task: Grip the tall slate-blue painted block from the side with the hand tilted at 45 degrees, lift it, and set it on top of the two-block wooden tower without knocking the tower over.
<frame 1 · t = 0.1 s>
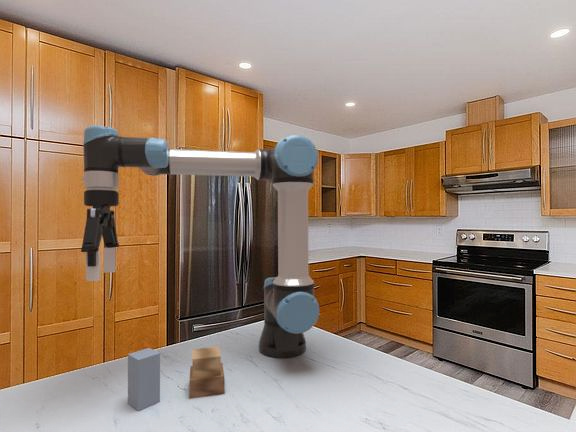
hand: (102, 276, 83), 28 cm above the counter, fingers open, 13 cm apart
tower base: (206, 389, 83), on the counter, touching tower top
tower top: (206, 371, 83), point 4 cm above the counter, touching tower base
slate block: (143, 402, 76), on the counter
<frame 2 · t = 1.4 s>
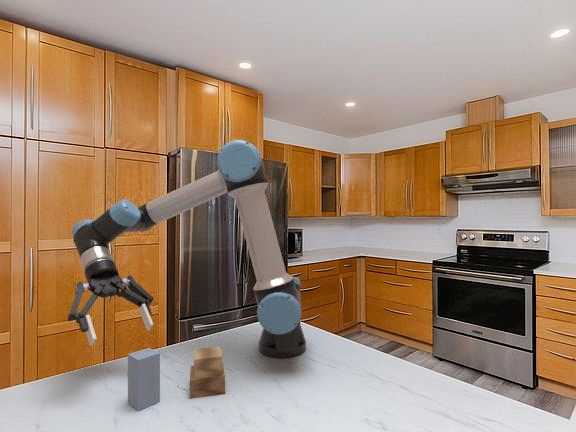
hand: (123, 334, 82), 13 cm above the counter, fingers open, 13 cm apart
nothing on the counter moved.
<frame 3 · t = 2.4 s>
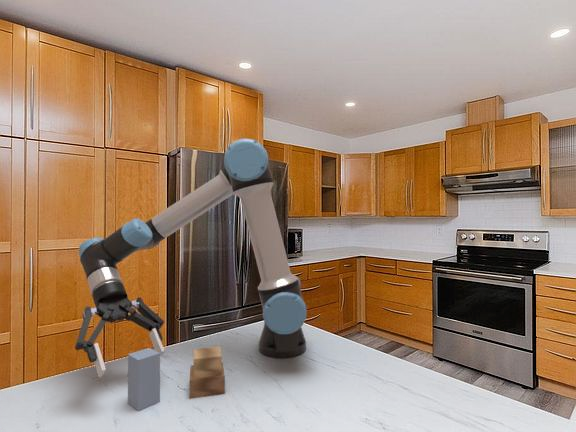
hand: (133, 363, 78), 8 cm above the counter, fingers open, 13 cm apart
nothing on the counter moved.
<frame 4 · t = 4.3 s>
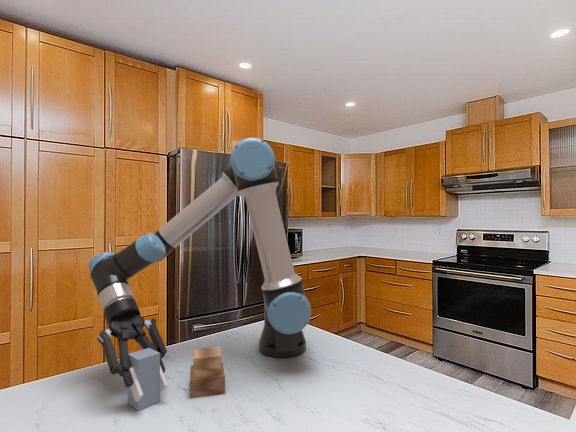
hand: (152, 392, 74), 3 cm above the counter, fingers closed on slate block, 5 cm apart
slate block: (143, 402, 76), on the counter, touching gripper
everything else where it was.
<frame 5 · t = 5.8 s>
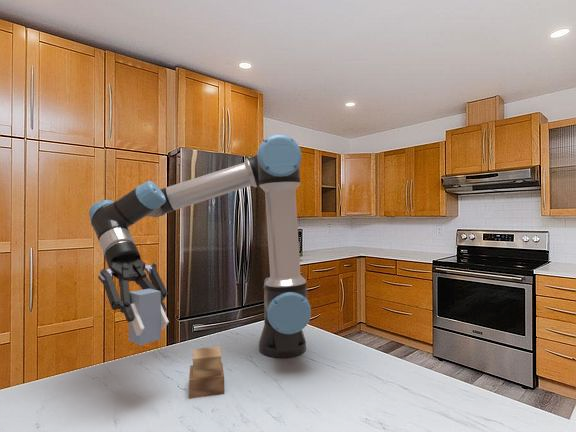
hand: (153, 328, 74), 17 cm above the counter, fingers closed on slate block, 5 cm apart
slate block: (144, 339, 77), point 14 cm above the counter, touching gripper
everything else where it was.
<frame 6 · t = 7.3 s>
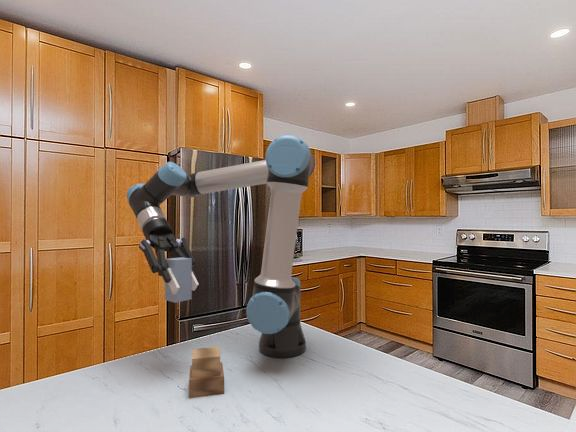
hand: (186, 289, 88), 23 cm above the counter, fingers closed on slate block, 5 cm apart
slate block: (178, 299, 91), point 20 cm above the counter, touching gripper
everything else where it was.
when the fingers open (14 cm above the counter, at t = 10.2 s): slate block drops 2 cm, resting on tower top.
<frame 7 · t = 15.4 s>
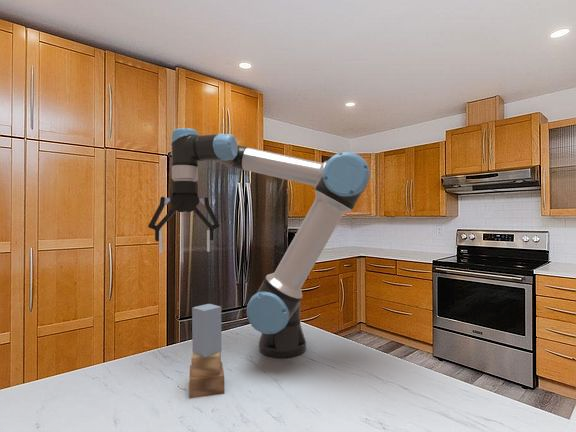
hand: (185, 252, 101), 32 cm above the counter, fingers open, 13 cm apart
tower top: (206, 370, 83), point 4 cm above the counter, touching slate block, tower base
slate block: (207, 351, 83), point 9 cm above the counter, touching tower top
everything else where it was.
at the end: slate block 0.1 cm off-centre on the tower top, point 4.5 cm above the tower top's base; slate block tilted 0°; tower top moved 0.4 cm from its start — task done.
